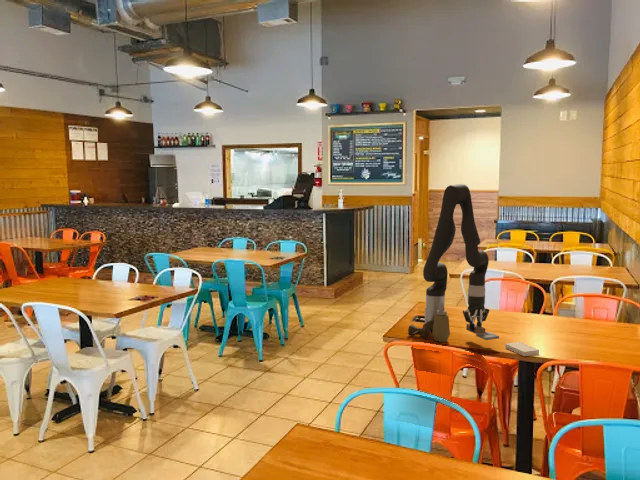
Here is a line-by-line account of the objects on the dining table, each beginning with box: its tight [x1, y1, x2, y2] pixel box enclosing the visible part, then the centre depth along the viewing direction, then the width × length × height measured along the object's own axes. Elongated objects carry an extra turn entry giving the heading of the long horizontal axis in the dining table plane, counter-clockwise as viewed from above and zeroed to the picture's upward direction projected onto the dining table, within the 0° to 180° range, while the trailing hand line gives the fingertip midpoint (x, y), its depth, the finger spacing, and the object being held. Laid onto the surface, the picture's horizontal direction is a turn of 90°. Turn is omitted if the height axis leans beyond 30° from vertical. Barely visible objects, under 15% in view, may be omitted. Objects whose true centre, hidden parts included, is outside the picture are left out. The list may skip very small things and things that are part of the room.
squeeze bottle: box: [431, 303, 451, 343], centre depth 251 cm, size 8×8×18 cm
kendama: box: [407, 321, 434, 340], centre depth 261 cm, size 6×10×20 cm
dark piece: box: [465, 322, 500, 341], centre depth 246 cm, size 17×7×3 cm, turn 21°
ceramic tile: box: [504, 341, 540, 357], centre depth 238 cm, size 2×8×12 cm
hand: (475, 330), depth 250 cm, fingers closed on dark piece, 3 cm apart
